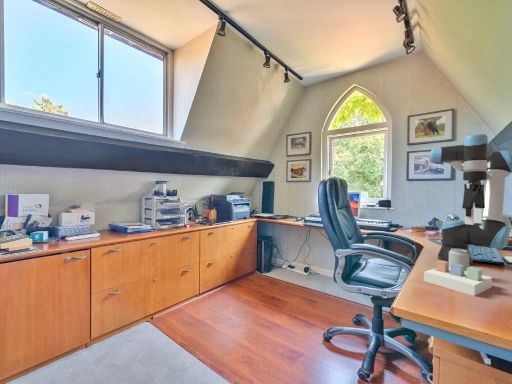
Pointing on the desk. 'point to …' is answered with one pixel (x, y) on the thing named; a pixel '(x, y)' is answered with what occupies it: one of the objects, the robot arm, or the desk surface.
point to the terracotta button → (442, 266)
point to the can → (459, 257)
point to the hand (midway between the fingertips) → (473, 223)
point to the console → (458, 282)
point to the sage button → (474, 274)
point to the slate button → (457, 269)
